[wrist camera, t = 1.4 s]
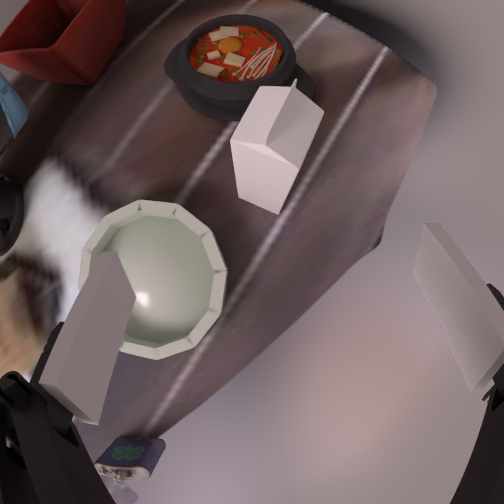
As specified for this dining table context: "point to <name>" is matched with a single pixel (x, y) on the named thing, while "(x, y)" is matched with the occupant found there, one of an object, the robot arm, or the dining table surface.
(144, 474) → the flask
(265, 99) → the milk
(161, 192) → the dining table surface
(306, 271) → the dining table surface
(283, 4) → the dining table surface
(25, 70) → the plant pot
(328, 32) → the dining table surface
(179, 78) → the casserole
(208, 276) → the bowl
